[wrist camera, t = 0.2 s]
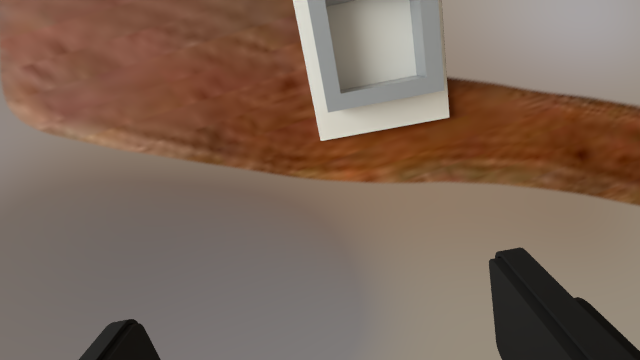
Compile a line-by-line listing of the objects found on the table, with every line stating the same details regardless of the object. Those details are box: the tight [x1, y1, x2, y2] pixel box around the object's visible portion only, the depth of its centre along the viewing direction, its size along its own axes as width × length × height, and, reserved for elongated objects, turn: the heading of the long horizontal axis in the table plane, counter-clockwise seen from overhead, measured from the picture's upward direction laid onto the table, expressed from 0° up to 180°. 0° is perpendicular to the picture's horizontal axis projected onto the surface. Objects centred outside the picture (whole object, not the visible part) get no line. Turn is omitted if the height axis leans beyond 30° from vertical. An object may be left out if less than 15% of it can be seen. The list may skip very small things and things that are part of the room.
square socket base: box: [293, 0, 449, 141], centre depth 33 cm, size 18×14×5 cm
